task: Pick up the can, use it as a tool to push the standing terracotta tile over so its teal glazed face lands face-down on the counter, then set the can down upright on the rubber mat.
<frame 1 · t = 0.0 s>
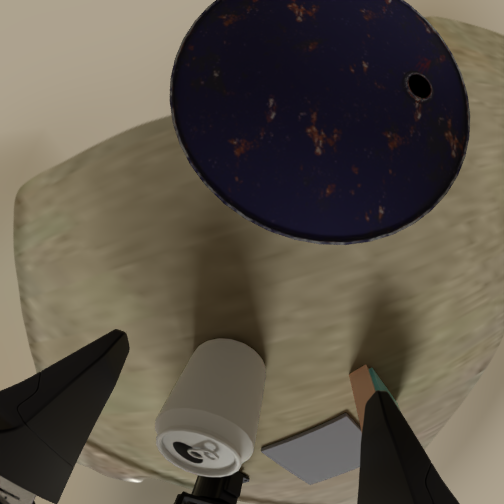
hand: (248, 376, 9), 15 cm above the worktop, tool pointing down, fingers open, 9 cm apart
storage jar: (306, 143, 21), on the worktop
mat: (325, 453, 29), on the worktop
can: (229, 363, 27), on the worktop
tile: (373, 390, 26), on the worktop
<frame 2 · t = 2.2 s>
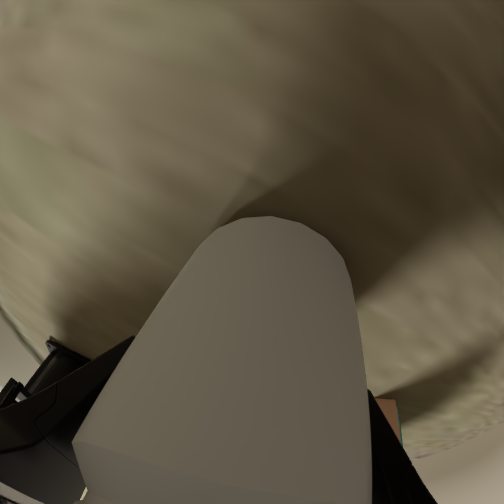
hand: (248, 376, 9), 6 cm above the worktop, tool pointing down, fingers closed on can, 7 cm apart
can: (270, 280, 14), on the worktop, touching gripper
tile: (360, 423, 19), on the worktop
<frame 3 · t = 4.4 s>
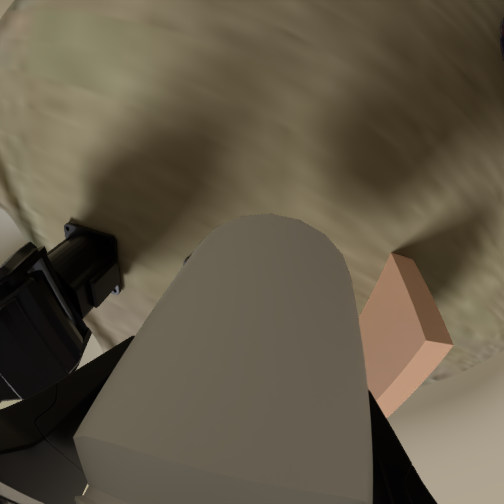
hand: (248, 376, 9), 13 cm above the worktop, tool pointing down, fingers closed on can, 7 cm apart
can: (271, 278, 14), point 7 cm above the worktop, touching gripper
tile: (381, 297, 21), on the worktop
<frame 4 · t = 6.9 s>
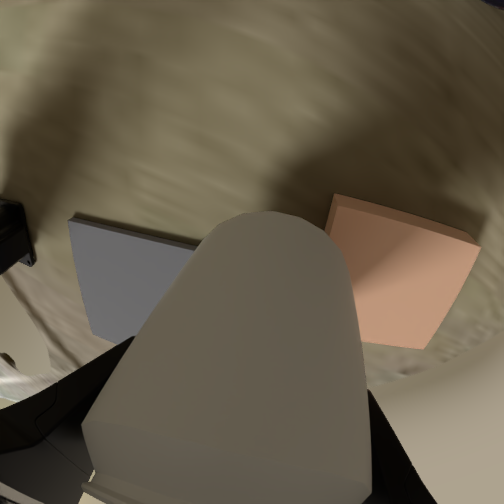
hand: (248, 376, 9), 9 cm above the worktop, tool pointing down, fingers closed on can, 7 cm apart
mat: (141, 301, 21), on the worktop
can: (272, 274, 14), point 3 cm above the worktop, touching gripper
tile: (316, 266, 16), point 1 cm above the worktop, tilted 90°
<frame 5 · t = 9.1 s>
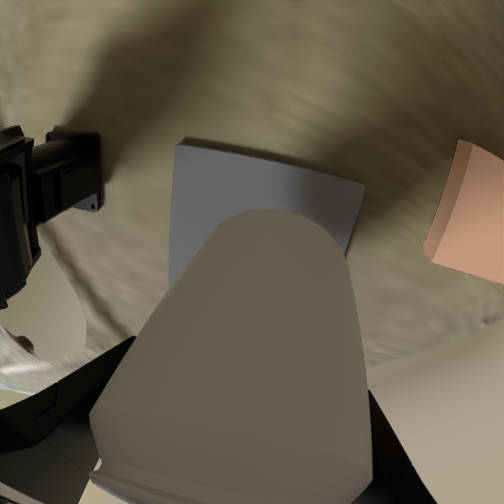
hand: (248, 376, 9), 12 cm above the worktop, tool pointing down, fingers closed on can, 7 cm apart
mat: (253, 244, 20), on the worktop
can: (273, 270, 15), point 5 cm above the worktop, touching gripper
tile: (448, 200, 15), point 1 cm above the worktop, tilted 90°
when the fingers open (8 cm above the worktop, at t = 10.9 s): can stays where it is, resting on mat.
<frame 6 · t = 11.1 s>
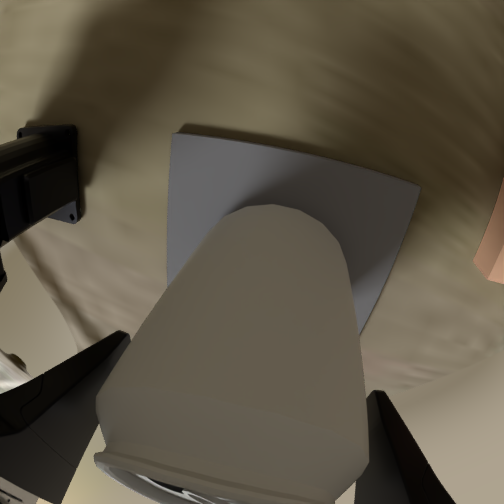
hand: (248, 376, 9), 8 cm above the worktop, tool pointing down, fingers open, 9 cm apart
mat: (275, 262, 15), on the worktop
can: (273, 265, 15), resting on mat
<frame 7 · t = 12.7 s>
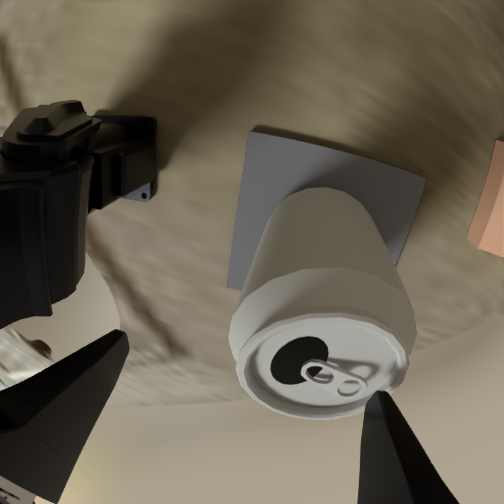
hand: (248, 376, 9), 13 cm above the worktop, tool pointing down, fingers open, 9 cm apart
mat: (321, 233, 20), on the worktop
can: (320, 235, 19), resting on mat
tile: (489, 193, 15), point 1 cm above the worktop, tilted 90°
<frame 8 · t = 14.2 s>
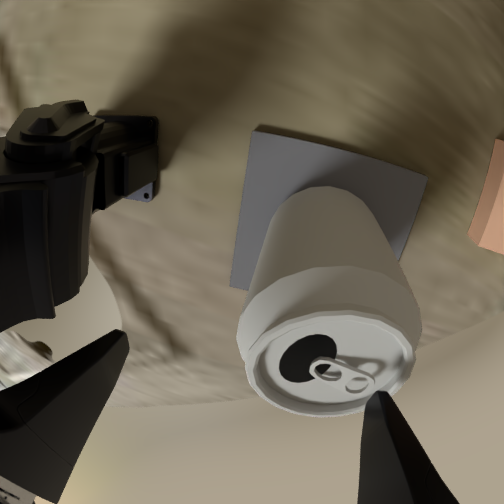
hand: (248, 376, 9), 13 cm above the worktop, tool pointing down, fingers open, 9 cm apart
mat: (323, 232, 20), on the worktop
can: (322, 234, 20), resting on mat
tile: (489, 191, 15), point 1 cm above the worktop, tilted 90°
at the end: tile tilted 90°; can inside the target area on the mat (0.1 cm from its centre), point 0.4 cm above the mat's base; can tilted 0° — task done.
